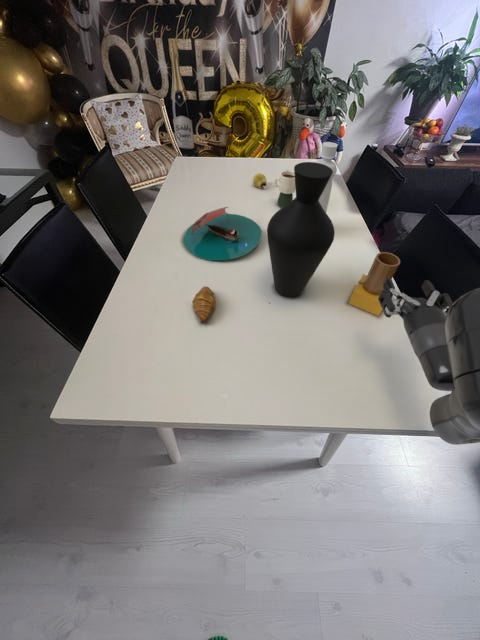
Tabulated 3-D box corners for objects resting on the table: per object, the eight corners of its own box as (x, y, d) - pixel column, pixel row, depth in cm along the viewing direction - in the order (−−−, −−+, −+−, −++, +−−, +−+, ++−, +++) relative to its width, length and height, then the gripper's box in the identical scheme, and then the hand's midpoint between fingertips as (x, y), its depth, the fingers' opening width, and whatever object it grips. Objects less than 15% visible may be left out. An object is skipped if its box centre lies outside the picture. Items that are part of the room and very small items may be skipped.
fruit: (261, 193, 132) (247, 182, 136) (270, 193, 136) (256, 182, 140) (266, 180, 129) (252, 169, 133) (275, 181, 132) (261, 170, 136)
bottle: (310, 223, 117) (330, 137, 94) (326, 234, 112) (351, 147, 89) (292, 229, 113) (308, 142, 91) (308, 241, 108) (329, 152, 86)
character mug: (297, 203, 127) (303, 171, 118) (297, 211, 123) (303, 179, 113) (272, 200, 128) (275, 169, 118) (270, 208, 123) (274, 176, 114)
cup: (387, 285, 86) (402, 257, 78) (381, 297, 82) (396, 269, 75) (366, 277, 88) (380, 249, 80) (360, 289, 84) (373, 260, 77)
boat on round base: (215, 210, 121) (212, 183, 112) (275, 230, 110) (277, 201, 101) (168, 247, 107) (160, 219, 98) (232, 274, 96) (229, 245, 87)
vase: (328, 291, 91) (369, 173, 65) (290, 317, 83) (319, 195, 57) (286, 263, 99) (308, 149, 73) (249, 285, 91) (257, 166, 65)
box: (387, 298, 90) (394, 285, 86) (378, 316, 85) (386, 303, 81) (357, 286, 93) (363, 273, 89) (347, 303, 88) (353, 290, 84)
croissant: (194, 290, 89) (193, 278, 85) (217, 291, 89) (216, 278, 86) (190, 325, 80) (188, 312, 76) (215, 325, 80) (215, 312, 77)
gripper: (480, 326, 55) (445, 270, 66) (402, 322, 55) (380, 267, 66) (457, 350, 61) (429, 295, 71) (387, 346, 61) (369, 292, 72)
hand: (405, 282), depth 69 cm, fingers open, 8 cm apart
